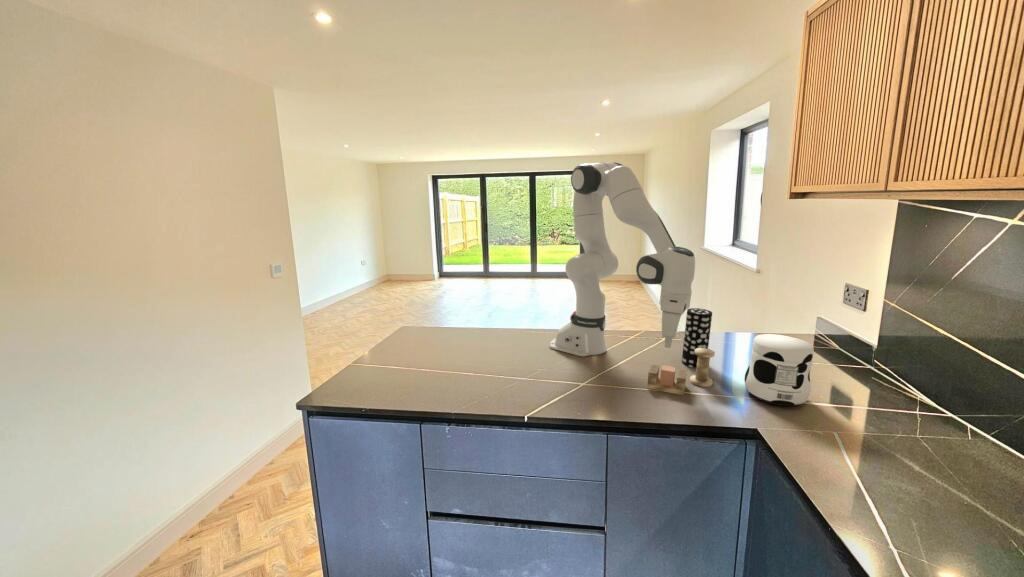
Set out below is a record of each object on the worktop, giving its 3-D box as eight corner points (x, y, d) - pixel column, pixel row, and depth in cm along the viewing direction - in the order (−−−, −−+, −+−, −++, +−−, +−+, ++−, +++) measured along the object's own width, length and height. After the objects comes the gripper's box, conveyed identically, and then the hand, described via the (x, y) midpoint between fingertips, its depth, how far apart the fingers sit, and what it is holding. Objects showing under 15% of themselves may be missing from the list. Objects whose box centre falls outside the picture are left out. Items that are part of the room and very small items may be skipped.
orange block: (659, 384, 137) (661, 369, 136) (661, 379, 140) (662, 365, 139) (672, 386, 135) (674, 372, 134) (674, 381, 139) (675, 367, 138)
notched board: (647, 388, 137) (648, 372, 136) (650, 379, 144) (651, 364, 142) (683, 395, 133) (685, 378, 132) (685, 386, 139) (686, 370, 138)
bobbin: (688, 384, 140) (692, 353, 138) (690, 376, 147) (693, 346, 144) (712, 388, 138) (716, 356, 135) (712, 380, 144) (716, 349, 141)
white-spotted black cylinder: (702, 370, 152) (709, 316, 147) (678, 364, 157) (684, 311, 152) (708, 362, 158) (714, 310, 154) (685, 357, 163) (690, 307, 158)
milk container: (768, 381, 143) (777, 330, 139) (821, 405, 128) (832, 348, 124) (730, 389, 137) (737, 336, 133) (780, 415, 122) (790, 356, 117)
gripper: (667, 291, 142) (662, 330, 146) (660, 306, 124) (654, 350, 128) (688, 293, 140) (682, 333, 143) (683, 310, 122) (677, 355, 125)
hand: (669, 342), depth 135 cm, fingers open, 8 cm apart
